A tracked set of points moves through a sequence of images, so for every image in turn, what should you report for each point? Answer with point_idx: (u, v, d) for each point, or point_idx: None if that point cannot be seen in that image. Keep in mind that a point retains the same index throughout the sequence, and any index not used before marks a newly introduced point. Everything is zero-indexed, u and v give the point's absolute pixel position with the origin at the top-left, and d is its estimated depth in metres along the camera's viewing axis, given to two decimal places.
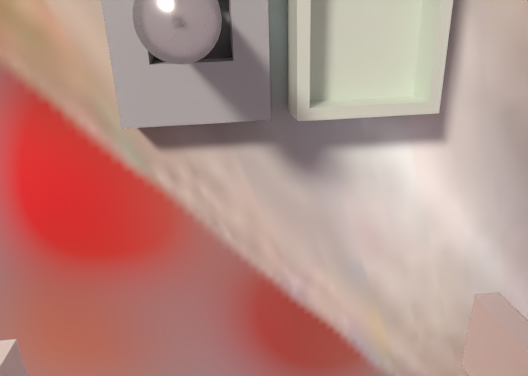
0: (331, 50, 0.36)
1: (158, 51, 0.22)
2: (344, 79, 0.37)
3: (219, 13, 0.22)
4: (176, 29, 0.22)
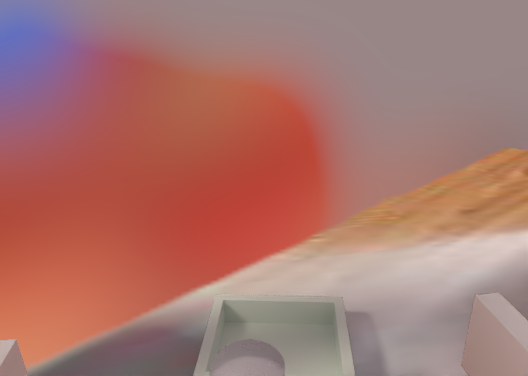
0: None
1: None
2: (320, 369, 0.41)
3: (247, 340, 0.27)
4: (255, 369, 0.25)
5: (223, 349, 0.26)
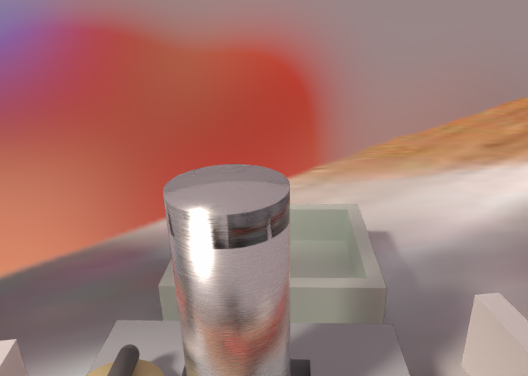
0: None
1: (267, 197, 0.14)
2: None
3: (229, 165, 0.17)
4: (240, 188, 0.15)
5: (189, 172, 0.16)
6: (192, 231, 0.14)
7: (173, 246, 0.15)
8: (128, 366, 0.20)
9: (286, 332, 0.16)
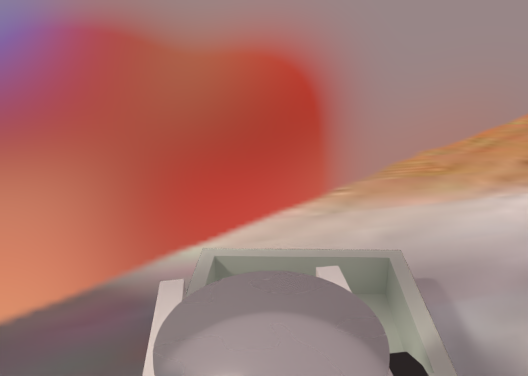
0: None
1: None
2: None
3: (266, 272, 0.10)
4: (295, 343, 0.08)
5: (200, 293, 0.09)
6: None
7: None
8: None
9: None
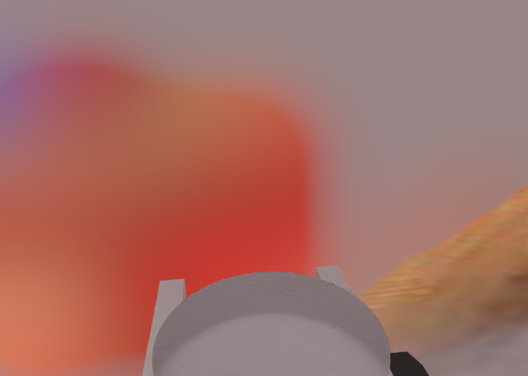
0: None
1: None
2: None
3: (266, 273, 0.10)
4: (296, 345, 0.08)
5: (200, 294, 0.09)
6: None
7: None
8: None
9: None
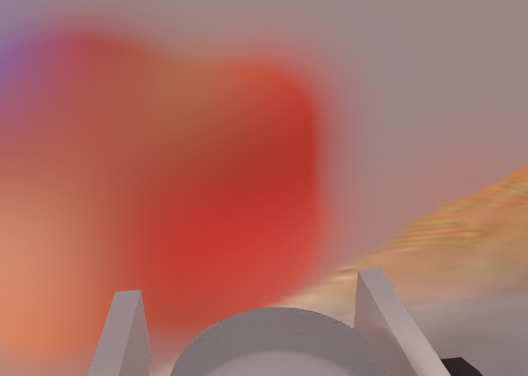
0: None
1: None
2: None
3: (274, 309, 0.10)
4: None
5: (210, 332, 0.10)
6: None
7: None
8: None
9: None
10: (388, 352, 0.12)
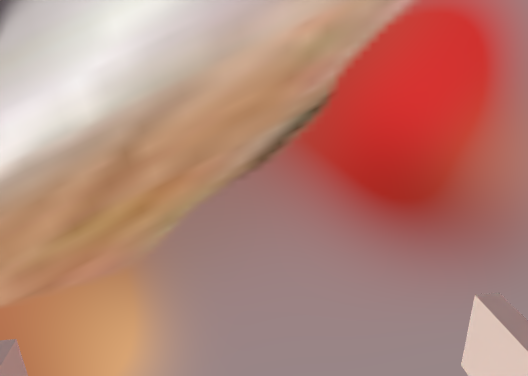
0: None
1: None
2: None
3: None
4: None
5: None
6: None
7: None
8: None
9: None
10: None
